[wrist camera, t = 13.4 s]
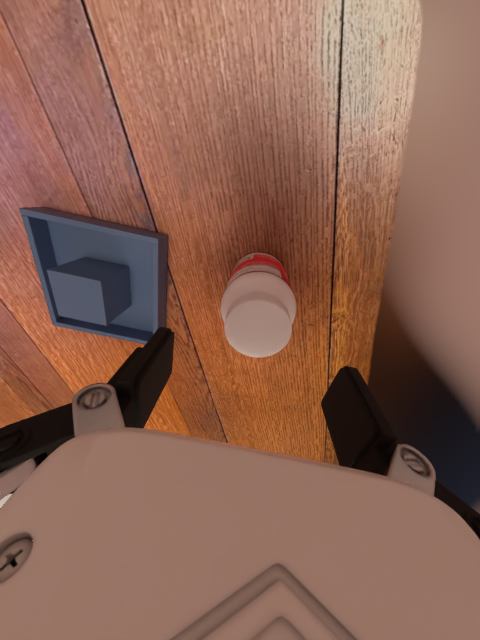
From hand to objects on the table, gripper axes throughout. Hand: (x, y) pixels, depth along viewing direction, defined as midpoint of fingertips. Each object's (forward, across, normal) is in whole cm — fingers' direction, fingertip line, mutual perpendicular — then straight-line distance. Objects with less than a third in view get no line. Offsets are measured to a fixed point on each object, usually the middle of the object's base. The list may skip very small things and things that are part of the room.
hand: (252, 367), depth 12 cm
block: (+14, +17, +4) cm, 22 cm away
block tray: (+14, +17, +4) cm, 22 cm away
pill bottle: (+15, 0, 0) cm, 15 cm away
